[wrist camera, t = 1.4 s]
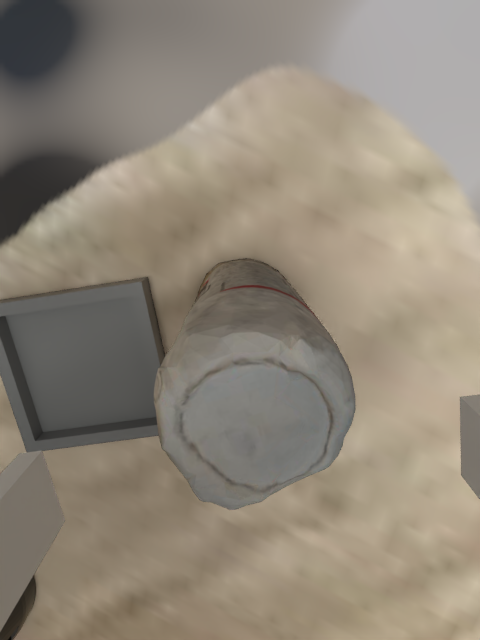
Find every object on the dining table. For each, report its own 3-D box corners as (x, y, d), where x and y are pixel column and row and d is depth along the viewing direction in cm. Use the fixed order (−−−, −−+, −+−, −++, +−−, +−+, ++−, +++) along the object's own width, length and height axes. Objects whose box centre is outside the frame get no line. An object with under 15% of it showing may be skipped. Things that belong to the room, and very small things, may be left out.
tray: (38, 439, 37) (27, 452, 35) (-7, 301, 33) (-23, 307, 32) (179, 421, 36) (175, 433, 34) (147, 276, 33) (141, 281, 31)
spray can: (235, 231, 32) (215, 274, 12) (319, 292, 33) (420, 417, 13) (176, 317, 34) (79, 469, 14) (257, 371, 35) (268, 580, 15)
